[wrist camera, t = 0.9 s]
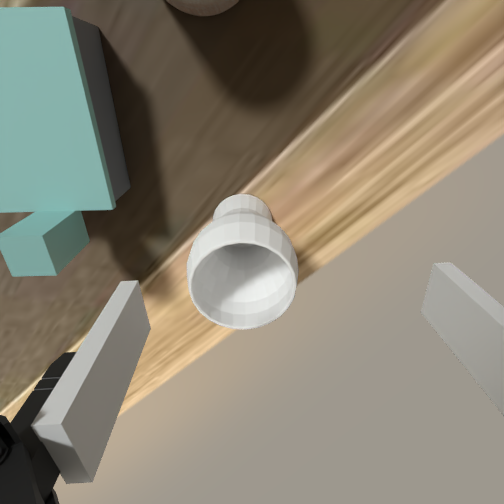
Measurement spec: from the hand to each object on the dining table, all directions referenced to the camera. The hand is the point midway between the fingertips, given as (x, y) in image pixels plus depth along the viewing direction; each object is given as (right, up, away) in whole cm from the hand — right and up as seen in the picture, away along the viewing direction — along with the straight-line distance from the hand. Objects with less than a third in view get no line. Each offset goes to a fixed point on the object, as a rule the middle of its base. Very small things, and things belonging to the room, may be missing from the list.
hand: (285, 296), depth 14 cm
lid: (-22, +12, +15) cm, 29 cm away
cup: (-3, +6, +26) cm, 27 cm away
